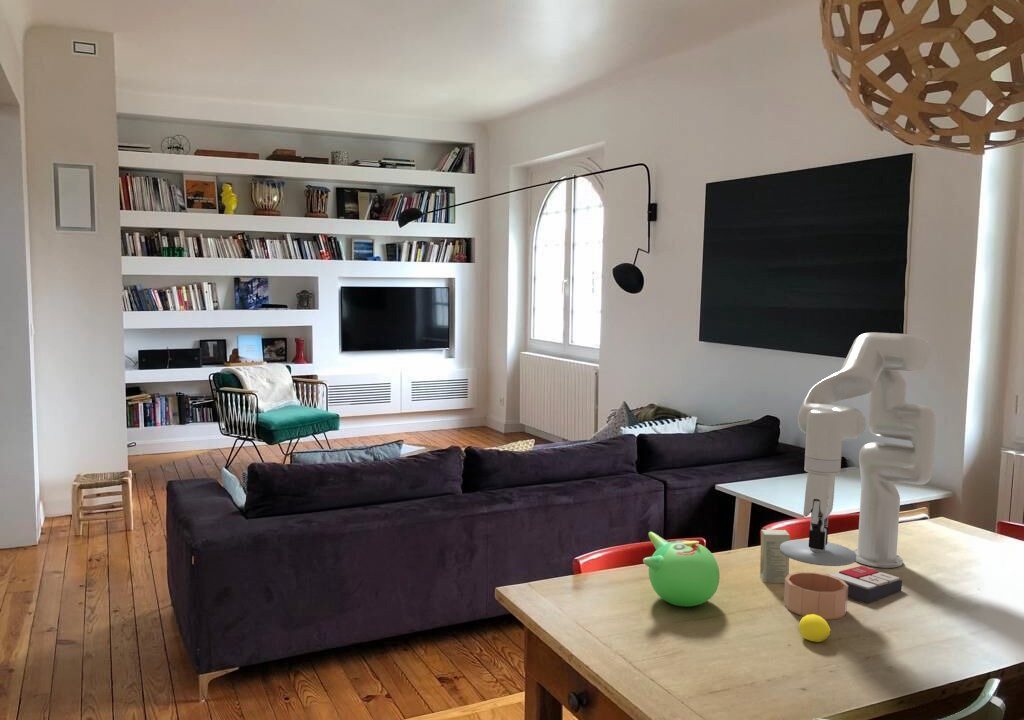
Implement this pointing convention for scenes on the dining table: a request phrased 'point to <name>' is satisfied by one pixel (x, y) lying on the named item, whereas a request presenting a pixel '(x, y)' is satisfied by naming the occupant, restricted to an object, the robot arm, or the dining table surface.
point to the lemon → (814, 628)
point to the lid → (818, 553)
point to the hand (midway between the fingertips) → (817, 545)
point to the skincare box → (773, 556)
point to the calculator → (869, 584)
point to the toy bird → (682, 571)
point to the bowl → (816, 595)
